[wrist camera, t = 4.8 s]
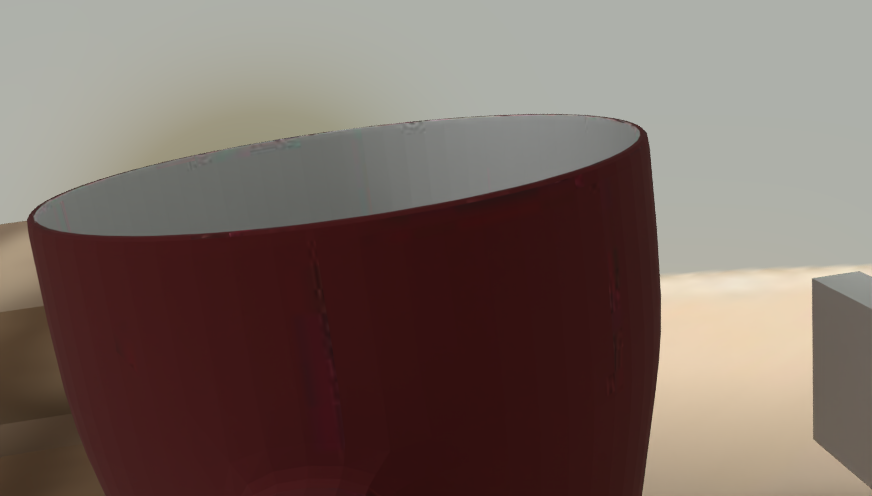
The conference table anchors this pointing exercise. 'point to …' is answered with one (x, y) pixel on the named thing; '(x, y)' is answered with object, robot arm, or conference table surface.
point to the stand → (33, 388)
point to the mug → (365, 313)
